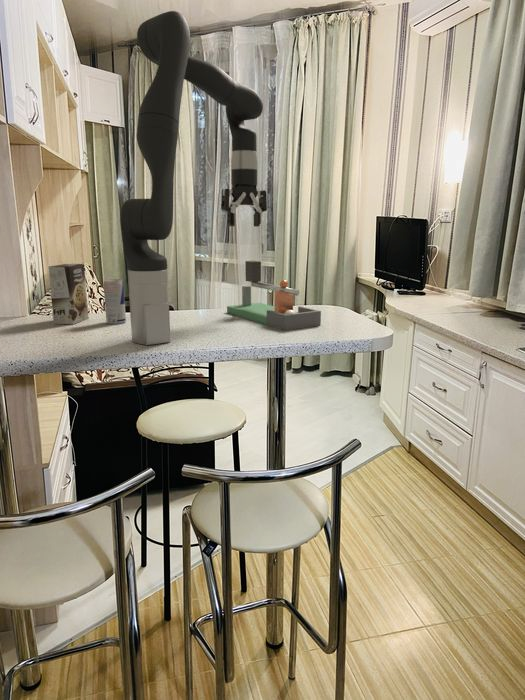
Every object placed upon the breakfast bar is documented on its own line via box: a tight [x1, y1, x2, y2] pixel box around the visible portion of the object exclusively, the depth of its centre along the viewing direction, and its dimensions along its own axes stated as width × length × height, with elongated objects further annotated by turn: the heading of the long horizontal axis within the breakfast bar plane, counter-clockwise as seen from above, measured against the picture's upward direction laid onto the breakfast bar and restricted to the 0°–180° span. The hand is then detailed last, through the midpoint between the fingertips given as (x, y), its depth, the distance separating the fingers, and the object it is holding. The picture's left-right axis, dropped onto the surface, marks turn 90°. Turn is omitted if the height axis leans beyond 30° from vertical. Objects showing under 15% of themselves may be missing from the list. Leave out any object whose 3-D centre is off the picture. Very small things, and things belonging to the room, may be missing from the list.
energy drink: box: [103, 278, 127, 325], centre depth 147 cm, size 5×5×12 cm
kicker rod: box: [244, 260, 300, 314], centre depth 152 cm, size 24×5×14 cm, turn 34°
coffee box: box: [48, 263, 89, 325], centre depth 148 cm, size 9×6×16 cm
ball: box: [284, 309, 297, 315], centre depth 146 cm, size 4×4×4 cm
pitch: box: [226, 285, 322, 331], centre depth 153 cm, size 31×12×8 cm, turn 34°
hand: (244, 226), depth 154 cm, fingers open, 8 cm apart
